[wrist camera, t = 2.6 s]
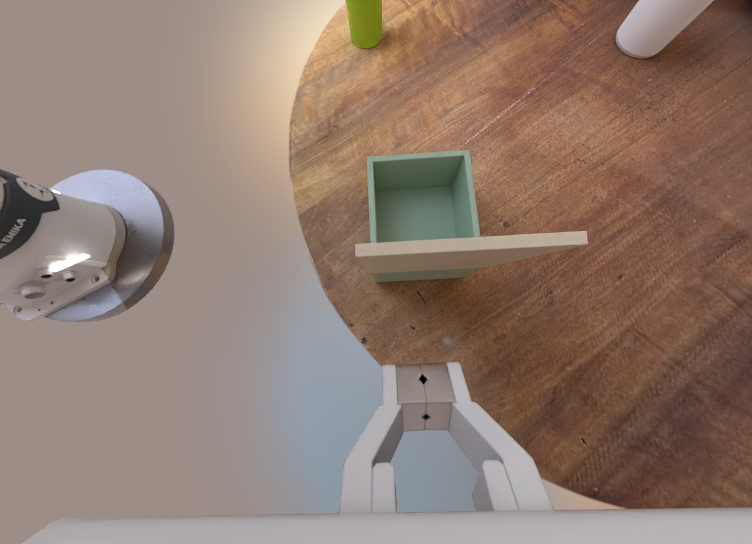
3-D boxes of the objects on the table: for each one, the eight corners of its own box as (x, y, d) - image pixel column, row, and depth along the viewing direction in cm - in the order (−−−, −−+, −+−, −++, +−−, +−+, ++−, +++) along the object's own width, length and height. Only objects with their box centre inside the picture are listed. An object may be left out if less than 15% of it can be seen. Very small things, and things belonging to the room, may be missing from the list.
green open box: (371, 189, 45) (366, 156, 36) (454, 183, 44) (469, 149, 36) (375, 282, 42) (371, 270, 33) (464, 277, 41) (484, 265, 32)
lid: (354, 243, 16) (355, 257, 16) (587, 230, 16) (588, 244, 16) (371, 266, 33) (371, 273, 33) (485, 260, 32) (485, 267, 32)
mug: (665, 64, 47) (742, -9, 37) (611, 58, 47) (671, -15, 37) (665, 13, 49) (737, -69, 39) (612, 8, 49) (670, -73, 39)
